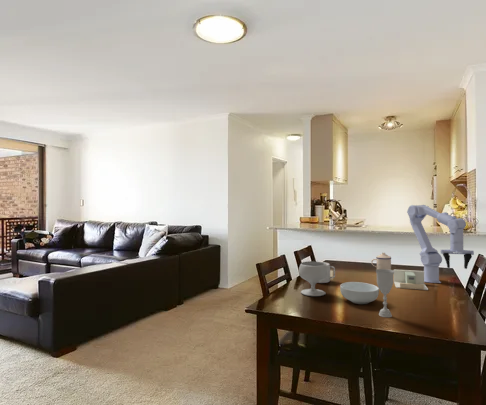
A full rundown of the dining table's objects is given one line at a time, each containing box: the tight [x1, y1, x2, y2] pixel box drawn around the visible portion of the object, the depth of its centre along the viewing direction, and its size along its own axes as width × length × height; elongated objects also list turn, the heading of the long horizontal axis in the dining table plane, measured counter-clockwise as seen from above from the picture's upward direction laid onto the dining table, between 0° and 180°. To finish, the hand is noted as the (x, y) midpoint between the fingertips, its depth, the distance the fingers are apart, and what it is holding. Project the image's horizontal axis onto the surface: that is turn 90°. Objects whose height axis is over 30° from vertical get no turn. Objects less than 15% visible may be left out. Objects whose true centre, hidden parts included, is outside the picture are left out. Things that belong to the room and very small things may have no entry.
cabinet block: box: [405, 272, 416, 284], centre depth 181 cm, size 10×4×6 cm, turn 161°
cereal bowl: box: [339, 281, 380, 305], centre depth 156 cm, size 17×17×7 cm
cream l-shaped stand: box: [393, 269, 429, 291], centre depth 181 cm, size 13×15×7 cm
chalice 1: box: [298, 260, 327, 297], centre depth 169 cm, size 14×14×15 cm
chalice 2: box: [375, 268, 395, 318], centre depth 137 cm, size 7×7×18 cm
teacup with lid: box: [371, 252, 392, 270], centre depth 219 cm, size 12×9×12 cm
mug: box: [316, 261, 336, 284], centre depth 194 cm, size 14×11×10 cm
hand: (457, 268), depth 175 cm, fingers open, 7 cm apart
